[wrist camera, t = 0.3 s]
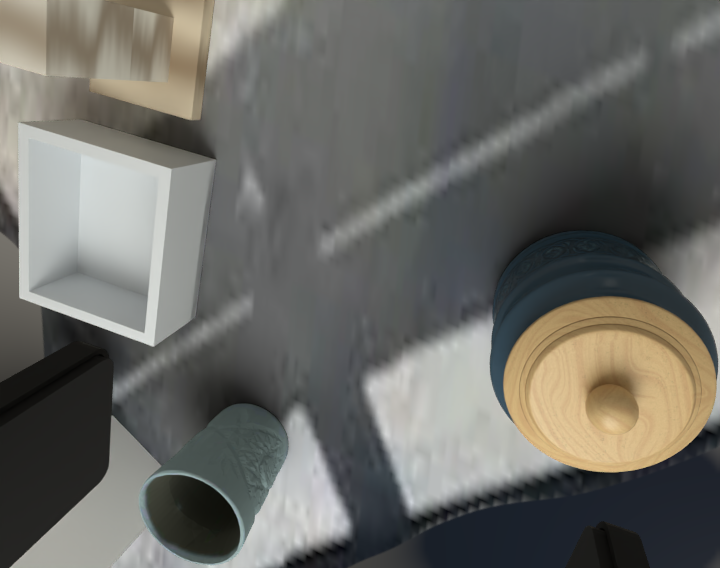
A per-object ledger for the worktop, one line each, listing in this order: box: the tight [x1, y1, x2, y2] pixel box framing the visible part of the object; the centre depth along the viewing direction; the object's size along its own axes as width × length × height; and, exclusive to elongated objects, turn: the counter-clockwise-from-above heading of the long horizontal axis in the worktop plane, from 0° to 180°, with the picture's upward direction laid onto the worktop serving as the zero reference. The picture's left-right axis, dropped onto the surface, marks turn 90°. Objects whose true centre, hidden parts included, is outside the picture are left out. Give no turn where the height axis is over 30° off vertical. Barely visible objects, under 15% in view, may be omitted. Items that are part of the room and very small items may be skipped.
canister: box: [490, 230, 718, 472], centre depth 36 cm, size 13×13×18 cm
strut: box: [0, 0, 174, 83], centre depth 38 cm, size 5×5×13 cm
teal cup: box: [139, 403, 288, 565], centre depth 51 cm, size 10×10×12 cm
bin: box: [18, 119, 216, 347], centre depth 48 cm, size 16×14×7 cm
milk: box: [10, 415, 161, 568], centre depth 51 cm, size 12×12×26 cm
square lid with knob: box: [89, 0, 214, 120], centre depth 43 cm, size 10×10×6 cm
